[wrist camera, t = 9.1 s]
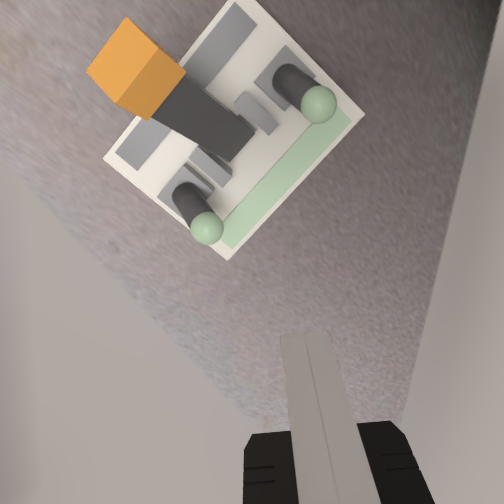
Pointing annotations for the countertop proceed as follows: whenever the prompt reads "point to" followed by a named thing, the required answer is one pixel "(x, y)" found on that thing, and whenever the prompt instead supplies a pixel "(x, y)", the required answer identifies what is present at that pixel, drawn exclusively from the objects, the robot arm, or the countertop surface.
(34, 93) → the countertop surface
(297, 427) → the robot arm
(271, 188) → the lever control panel
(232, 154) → the breaker lever
